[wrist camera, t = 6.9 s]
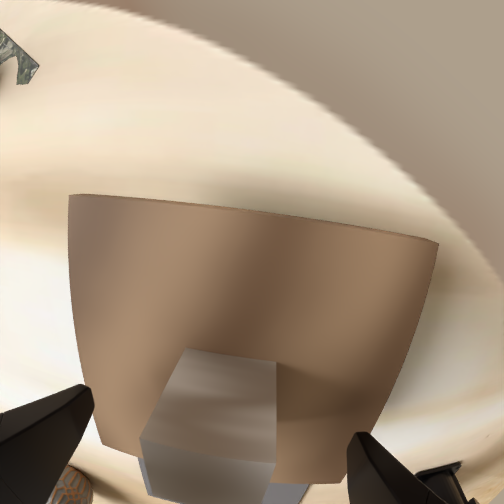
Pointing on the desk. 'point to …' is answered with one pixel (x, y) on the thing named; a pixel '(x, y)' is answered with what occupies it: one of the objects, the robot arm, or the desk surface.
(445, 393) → the desk surface
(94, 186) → the desk surface
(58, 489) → the vase
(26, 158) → the desk surface
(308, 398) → the lid
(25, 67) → the eiffel tower figurine
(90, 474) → the desk surface
